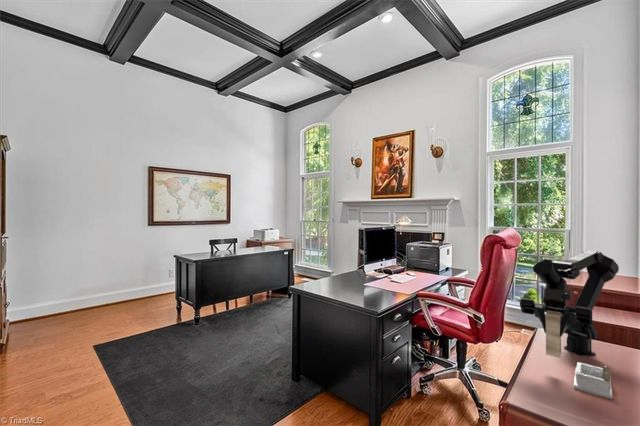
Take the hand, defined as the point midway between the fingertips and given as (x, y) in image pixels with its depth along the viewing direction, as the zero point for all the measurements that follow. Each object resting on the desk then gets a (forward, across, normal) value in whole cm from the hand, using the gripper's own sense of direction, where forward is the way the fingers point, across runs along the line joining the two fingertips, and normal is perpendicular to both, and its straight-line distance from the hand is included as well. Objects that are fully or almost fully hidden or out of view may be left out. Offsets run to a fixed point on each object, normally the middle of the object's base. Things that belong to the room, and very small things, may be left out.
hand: (552, 334), depth 96 cm
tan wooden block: (+4, 0, +6) cm, 7 cm away
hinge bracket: (+8, +9, +9) cm, 15 cm away
